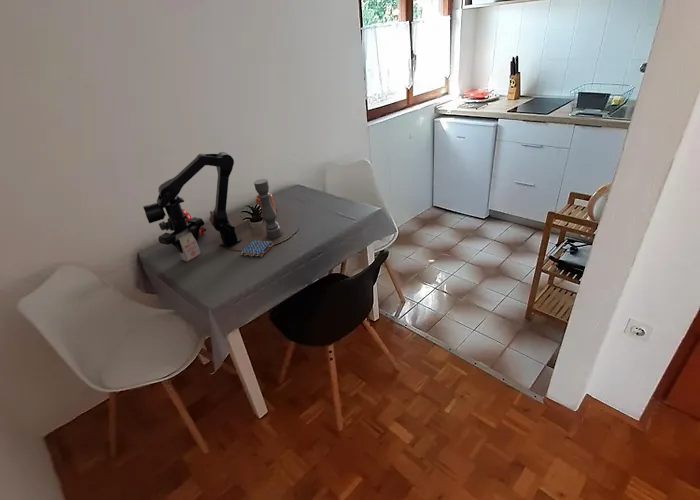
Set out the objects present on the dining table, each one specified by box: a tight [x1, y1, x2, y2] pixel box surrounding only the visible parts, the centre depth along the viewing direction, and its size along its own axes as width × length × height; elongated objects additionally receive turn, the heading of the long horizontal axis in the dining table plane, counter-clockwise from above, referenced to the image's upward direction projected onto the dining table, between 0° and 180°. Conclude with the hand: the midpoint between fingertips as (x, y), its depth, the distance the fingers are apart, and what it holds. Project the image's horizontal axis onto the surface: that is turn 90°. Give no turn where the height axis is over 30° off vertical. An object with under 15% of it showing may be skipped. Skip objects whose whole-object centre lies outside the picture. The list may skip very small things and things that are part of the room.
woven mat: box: [239, 239, 274, 258], centre depth 171 cm, size 10×11×2 cm
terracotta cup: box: [254, 192, 277, 213], centre depth 202 cm, size 8×8×9 cm
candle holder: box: [253, 178, 282, 240], centre depth 175 cm, size 6×6×25 cm
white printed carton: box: [177, 233, 202, 263], centre depth 172 cm, size 4×7×10 cm, turn 143°
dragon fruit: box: [187, 223, 207, 237], centre depth 190 cm, size 8×8×12 cm
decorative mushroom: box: [180, 208, 192, 238], centre depth 187 cm, size 10×9×15 cm
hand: (188, 248), depth 172 cm, fingers closed on white printed carton, 7 cm apart
